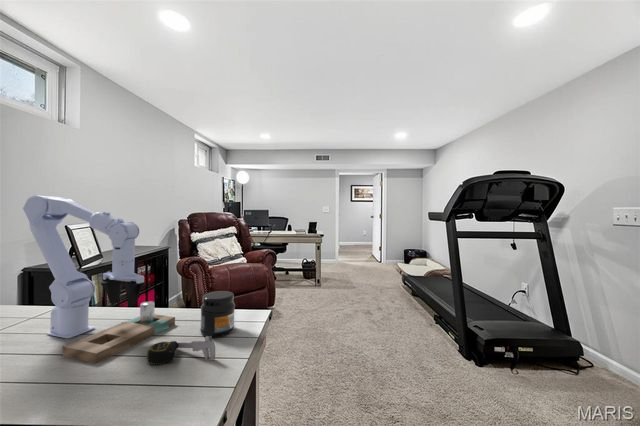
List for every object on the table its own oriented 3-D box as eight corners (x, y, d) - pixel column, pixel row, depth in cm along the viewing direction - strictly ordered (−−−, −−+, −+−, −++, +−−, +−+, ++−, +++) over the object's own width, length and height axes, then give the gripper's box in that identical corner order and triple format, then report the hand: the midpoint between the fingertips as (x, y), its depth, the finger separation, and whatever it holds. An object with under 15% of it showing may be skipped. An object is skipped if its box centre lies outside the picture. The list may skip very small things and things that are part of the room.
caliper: (215, 360, 74) (216, 336, 74) (212, 362, 73) (212, 338, 73) (159, 345, 82) (160, 323, 82) (156, 346, 81) (156, 324, 81)
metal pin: (136, 329, 91) (137, 304, 91) (147, 324, 95) (147, 300, 95) (146, 330, 90) (147, 306, 90) (156, 326, 94) (157, 302, 94)
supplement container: (239, 333, 91) (240, 296, 91) (205, 341, 84) (206, 302, 84) (228, 322, 99) (228, 288, 99) (196, 329, 93) (197, 293, 93)
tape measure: (173, 365, 71) (173, 350, 71) (142, 369, 69) (143, 354, 69) (178, 352, 78) (178, 339, 78) (150, 355, 76) (151, 341, 76)
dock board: (62, 355, 74) (62, 346, 74) (147, 320, 99) (147, 312, 99) (96, 363, 71) (96, 353, 71) (174, 324, 96) (175, 317, 96)
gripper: (93, 261, 86) (92, 305, 86) (129, 264, 82) (128, 310, 82) (115, 257, 93) (114, 298, 93) (150, 260, 89) (149, 303, 89)
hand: (122, 303), depth 88 cm, fingers open, 7 cm apart
